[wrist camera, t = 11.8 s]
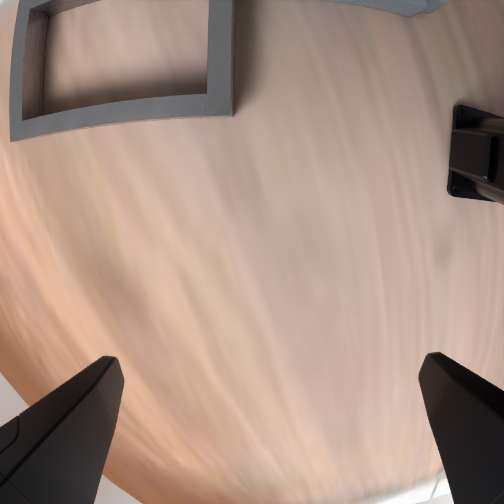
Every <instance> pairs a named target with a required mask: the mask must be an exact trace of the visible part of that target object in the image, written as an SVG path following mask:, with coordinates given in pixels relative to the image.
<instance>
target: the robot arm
mask: <svg viewBox="0 0 504 504" xmlns="http://www.w3.org/2000/svg"><path fill="white" fill-rule="evenodd" d="M459 109H460V110H461V114H460V113H459ZM454 186H455V191H454V192H453V187H454ZM447 192H448V194H449V195H451V196H454V197H460V198H469V199H477V200H485V201H492V202H498V203H500V204H503V205H504V118H503V117H500V116H497V115H494V114H491V113H488V112H485V111H482V110H478V109H475V108H472V107H468V106H465V105H455V106H454V108H453V127H452V135H451V149H450V161H449V176H448V185H447ZM419 384H420V387H421V391H422V395H423V399H424V403H425V408H426V412H427V416H428V420H429V423H430V426H431V429H432V432H433V435H434V438H435V441H436V444H437V447H438V450H439V453H440V456H441V459H442V463H443V466H444V469H445V473H446V476H447V479H448V483H449V487H450V490H451V493H452V498H453V501H454V504H504V391H503V390H501V389H500V388H498V387H497V386H495V385H493V384H492V383H490V382H488V381H487V380H485V379H483V378H482V377H480V376H479V375H477V374H475V373H474V372H472V371H470V370H469V369H467V368H465V367H464V366H462V365H460V364H459V363H457V362H456V361H454V360H452V359H451V358H449V357H447V356H446V355H444V354H442V353H441V352H433V353H428V354H427V355H426V357H425V359H424V362H423V364H422V367H421V369H420V372H419ZM123 388H124V376H123V373H122V370H121V367H120V364H119V361H118V359H117V358H116V357H113V356H102V357H101V358H99V359H98V360H96V361H95V362H93V363H92V364H91V365H89V366H88V367H86V368H85V369H83V370H82V371H81V372H79V373H78V374H76V375H75V376H73V377H72V378H71V379H69V380H68V381H66V382H65V383H63V384H62V385H61V386H59V387H58V388H56V389H55V390H53V391H52V392H50V393H49V394H48V395H46V396H45V397H43V398H42V399H40V400H39V401H38V402H36V403H35V404H33V405H32V406H30V407H29V408H28V409H26V410H25V411H23V412H22V413H20V414H19V416H16V417H15V418H13V419H12V420H10V421H9V422H7V423H6V424H4V425H3V426H1V427H0V504H94V501H95V497H96V494H97V490H98V486H99V483H100V479H101V475H102V472H103V468H104V465H105V461H106V458H107V455H108V451H109V448H110V445H111V441H112V438H113V435H114V431H115V428H116V423H117V418H118V413H119V407H120V402H121V397H122V392H123Z"/></svg>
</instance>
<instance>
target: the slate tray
mask: <svg viewBox="0 0 504 504" xmlns="http://www.w3.org/2000/svg"><path fill="white" fill-rule="evenodd" d="M327 1H335V2H341V3H348V4H353V5H359V6H364V7H369V8H374V9H379V10H383V11H388V12H392V13H396V14H400V15H403V16H407V17H411V16H413V15H414V14H416V13H418V12H420V11H422V12H426V13H431V12H433V11H435V10H437V9H439V8H441V7H443V6H445V5H447V0H327Z"/></svg>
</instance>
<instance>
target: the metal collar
mask: <svg viewBox="0 0 504 504" xmlns="http://www.w3.org/2000/svg"><path fill="white" fill-rule="evenodd" d="M96 1H99V0H19V5H18V11H17V17H16V23H15V30H14V38H13V47H12V58H11V71H10V98H9V116H10V142H15V141H20V140H26V139H32V138H37V137H41V136H46V135H51V134H57V133H62V132H68V131H73V130H80V129H86V128H93V127H100V126H107V125H115V124H123V123H132V122H142V121H153V120H166V119H181V118H202V117H233V69H234V9H235V0H209V20H208V58H207V94H190V95H175V96H163V97H152V98H143V99H134V100H127V101H119V102H112V103H106V104H99V105H93V106H88V107H82V108H77V109H72V110H67V111H62V112H57V113H53V114H48V115H44V116H43V79H44V59H45V46H46V36H47V27H48V19H49V16H51V15H54V14H57V13H60V12H63V11H66V10H69V9H72V8H75V7H78V6H82V5H85V4H88V3H92V2H96Z"/></svg>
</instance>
